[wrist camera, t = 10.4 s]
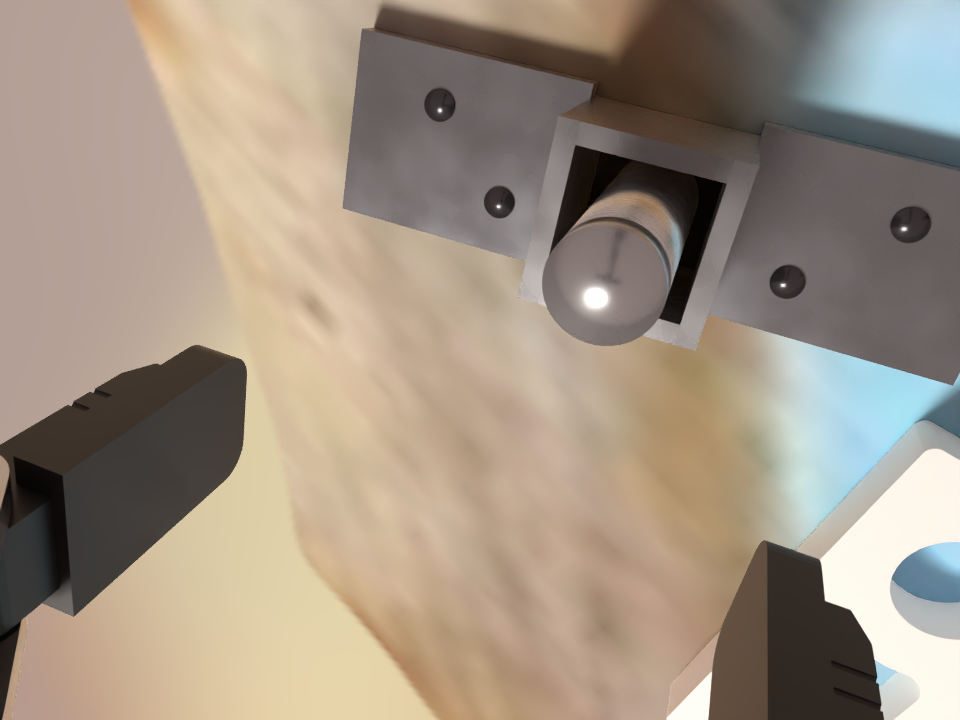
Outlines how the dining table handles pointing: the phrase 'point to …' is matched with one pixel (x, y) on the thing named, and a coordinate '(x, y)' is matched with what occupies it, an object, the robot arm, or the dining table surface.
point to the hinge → (681, 147)
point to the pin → (621, 256)
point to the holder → (882, 579)
